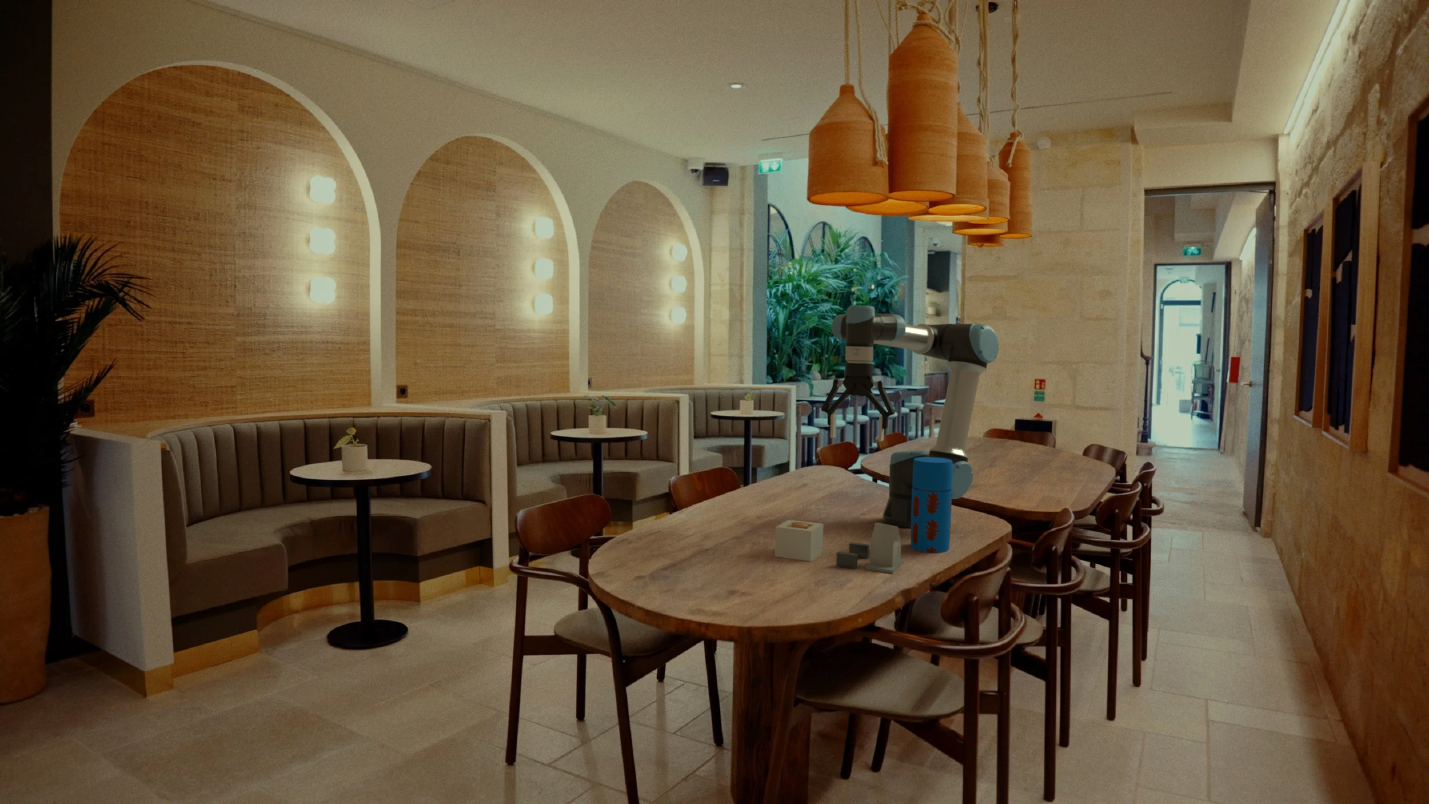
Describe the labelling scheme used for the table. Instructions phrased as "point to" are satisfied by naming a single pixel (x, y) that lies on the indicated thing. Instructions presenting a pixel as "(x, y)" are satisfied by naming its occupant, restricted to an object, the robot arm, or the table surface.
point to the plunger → (800, 525)
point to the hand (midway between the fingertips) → (856, 439)
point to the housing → (799, 541)
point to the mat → (883, 567)
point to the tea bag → (885, 545)
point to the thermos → (931, 504)
